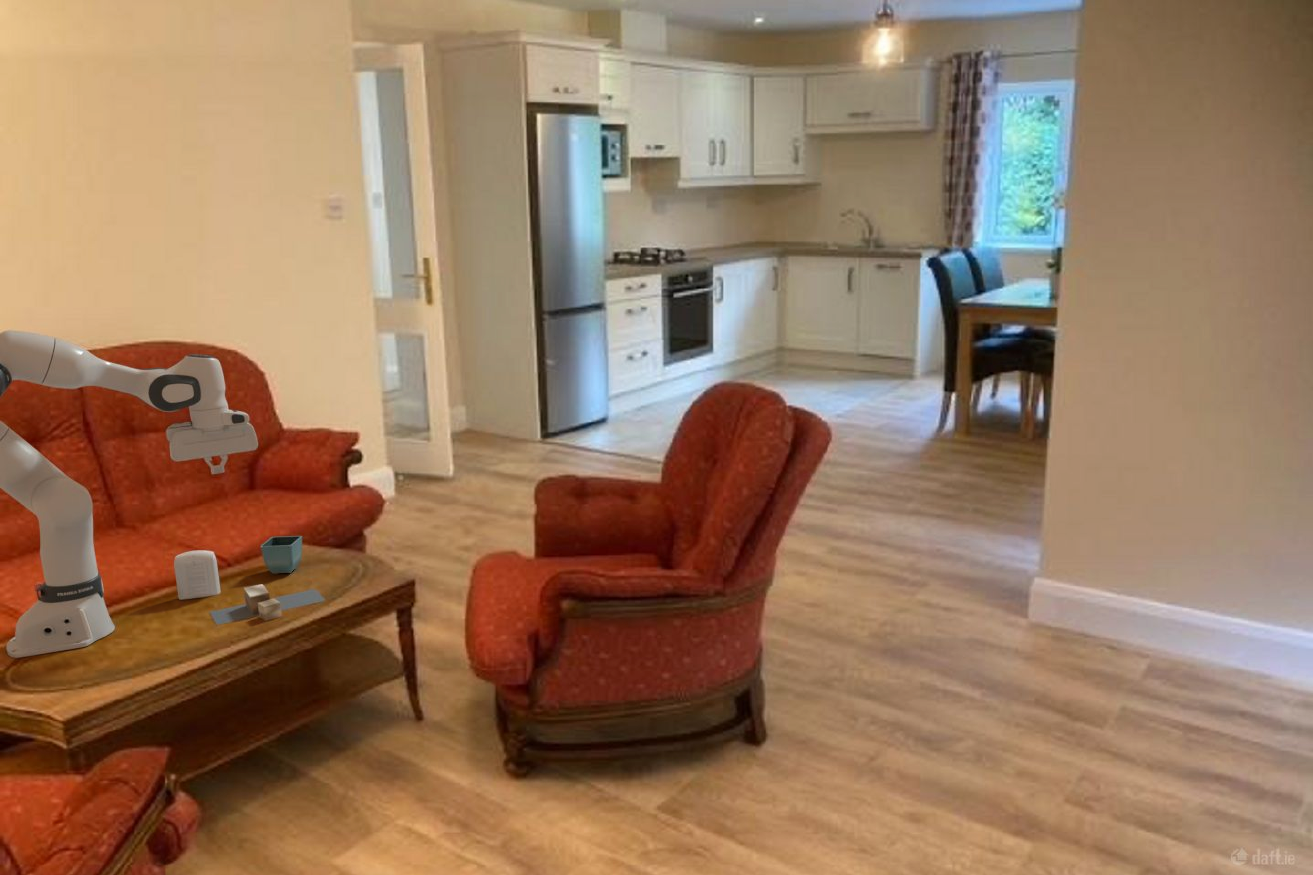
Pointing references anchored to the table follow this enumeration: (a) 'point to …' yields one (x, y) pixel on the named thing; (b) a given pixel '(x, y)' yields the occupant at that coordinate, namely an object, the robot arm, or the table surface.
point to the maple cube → (269, 609)
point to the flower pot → (282, 553)
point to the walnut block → (255, 597)
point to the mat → (285, 601)
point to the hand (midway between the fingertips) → (218, 472)
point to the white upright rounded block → (196, 574)
